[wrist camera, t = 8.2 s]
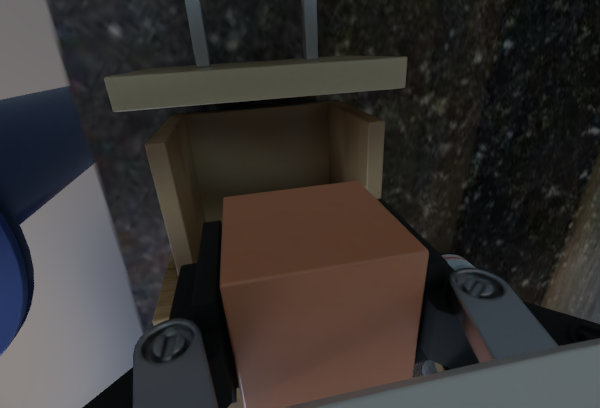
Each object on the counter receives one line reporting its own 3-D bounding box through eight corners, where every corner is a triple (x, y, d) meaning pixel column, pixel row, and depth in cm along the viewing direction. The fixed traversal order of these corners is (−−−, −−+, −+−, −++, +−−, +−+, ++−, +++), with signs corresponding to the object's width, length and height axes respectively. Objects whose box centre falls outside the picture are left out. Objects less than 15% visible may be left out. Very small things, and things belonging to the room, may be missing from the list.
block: (241, 306, 12) (247, 427, 8) (222, 196, 10) (218, 286, 6) (355, 285, 13) (412, 389, 9) (358, 179, 11) (430, 250, 7)
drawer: (129, -22, 17) (58, -76, 10) (345, -28, 18) (418, -77, 11) (195, 267, 24) (182, 354, 17) (345, 243, 26) (388, 313, 19)
